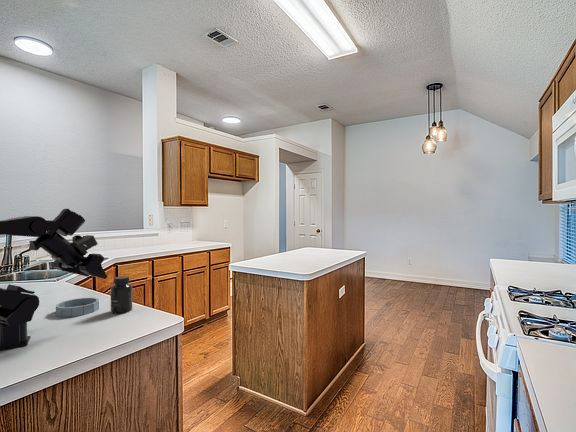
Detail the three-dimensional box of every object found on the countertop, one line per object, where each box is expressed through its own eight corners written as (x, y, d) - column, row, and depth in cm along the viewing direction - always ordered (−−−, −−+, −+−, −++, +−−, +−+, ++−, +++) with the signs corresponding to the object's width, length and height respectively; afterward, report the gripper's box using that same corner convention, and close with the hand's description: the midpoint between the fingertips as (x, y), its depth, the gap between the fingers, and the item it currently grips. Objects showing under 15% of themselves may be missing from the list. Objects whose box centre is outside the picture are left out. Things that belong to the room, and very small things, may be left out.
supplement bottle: (108, 315, 106) (107, 280, 106) (113, 309, 113) (113, 276, 113) (130, 313, 108) (129, 278, 108) (134, 307, 115) (133, 274, 115)
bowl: (99, 312, 109) (99, 303, 109) (54, 319, 102) (54, 310, 102) (98, 303, 120) (98, 295, 120) (57, 309, 113) (57, 301, 113)
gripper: (97, 228, 94) (131, 258, 104) (62, 226, 102) (96, 255, 113) (70, 258, 87) (109, 287, 97) (34, 254, 96) (74, 281, 106)
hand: (97, 276), depth 103 cm, fingers open, 9 cm apart
